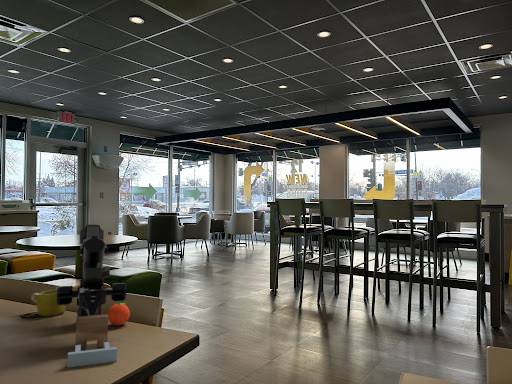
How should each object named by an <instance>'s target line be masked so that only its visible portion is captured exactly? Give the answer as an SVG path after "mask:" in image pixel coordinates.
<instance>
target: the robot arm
mask: <svg viewBox="0 0 512 384" xmlns="http://www.w3.org/2000/svg"><path fill="white" fill-rule="evenodd" d="M84 226H85V227H84V228H82V229H81V230H80V231H79V244H80V253H79V254H80V255H79V256H81V257H82V259H83V262H82V275H81V277H80V280H79V286H77V290H73V285H62V286H61V285H60V286H58V287H57V288H56V290H57V305H65V306H67V305H70V304H71V303H72V302H73V299H76V306H78V308H77V310H76V311H77V313H76V318H77V317H78V316H91V315H102V305H105V304H106V303H107V302H106V301H107V296H111V300H112V301H113V302H123V301H125V300H126V297H127V292H128V288H127V284H126V283H125V282H118V283H117V282H116V283H112V287H106V286H105V285H104V284H105V283H104V282H105V281H104V280H105V279H110V274H111V273H110V272H111V270H110V268H111V267H110V265H107V266H106V265H105V266H104V263H103V261H104V258H105V256H106V255H107V253H109V248H108V246H107V244H105V242H104V240H105V238H104V237H105V235H104V234H105V231H104V230H103V228H101V226H100V224H92V223H91V224H86V225H84Z"/></svg>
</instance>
